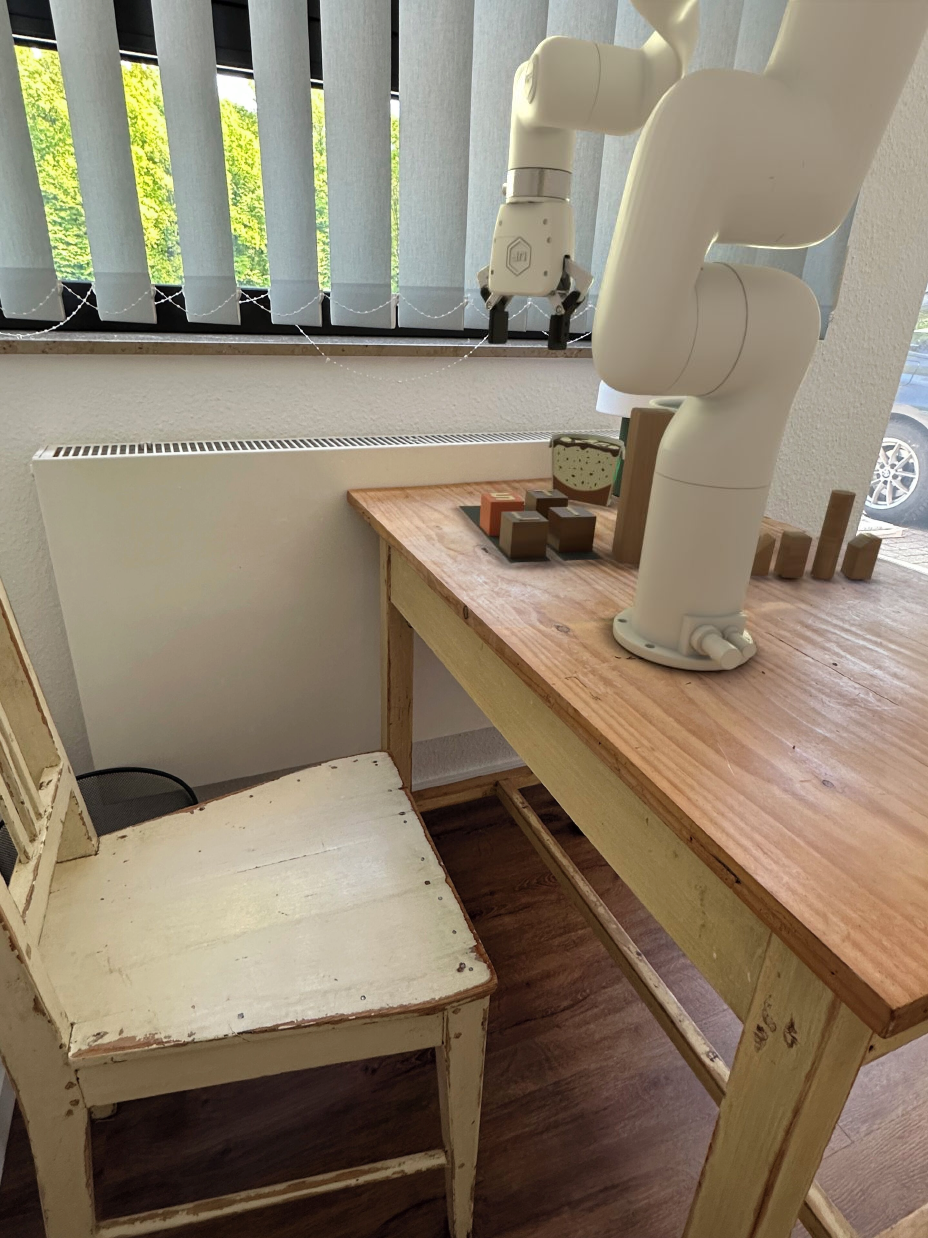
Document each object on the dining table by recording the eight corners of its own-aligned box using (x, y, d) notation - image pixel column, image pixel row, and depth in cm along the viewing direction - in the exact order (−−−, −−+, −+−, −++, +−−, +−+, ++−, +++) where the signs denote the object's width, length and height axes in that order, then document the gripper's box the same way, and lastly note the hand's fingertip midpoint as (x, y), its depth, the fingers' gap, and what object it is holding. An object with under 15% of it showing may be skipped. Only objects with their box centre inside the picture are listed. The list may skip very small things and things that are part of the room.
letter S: (521, 535, 94) (524, 500, 92) (488, 535, 93) (491, 501, 91) (511, 525, 98) (513, 491, 96) (479, 525, 96) (481, 492, 95)
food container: (630, 504, 114) (639, 440, 110) (615, 512, 109) (625, 445, 105) (559, 491, 119) (565, 429, 115) (543, 497, 115) (549, 434, 111)
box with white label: (545, 557, 86) (549, 520, 84) (509, 559, 85) (512, 521, 83) (533, 545, 90) (536, 509, 88) (498, 546, 89) (501, 510, 87)
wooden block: (682, 558, 90) (708, 410, 82) (692, 571, 86) (721, 416, 78) (610, 555, 90) (630, 406, 82) (617, 567, 86) (639, 412, 78)
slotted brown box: (592, 551, 89) (596, 515, 87) (558, 552, 88) (562, 516, 86) (578, 540, 93) (582, 505, 91) (545, 541, 92) (549, 506, 90)
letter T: (565, 530, 97) (569, 496, 95) (533, 531, 96) (536, 497, 94) (553, 520, 101) (556, 488, 99) (522, 521, 99) (525, 488, 98)
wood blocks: (858, 574, 88) (882, 490, 83) (870, 581, 85) (896, 496, 81) (660, 570, 85) (674, 484, 81) (667, 578, 83) (682, 489, 79)
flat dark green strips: (603, 563, 87) (604, 558, 86) (509, 567, 84) (510, 562, 83) (534, 508, 109) (534, 504, 108) (458, 509, 106) (458, 505, 105)
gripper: (463, 191, 87) (456, 341, 94) (581, 182, 77) (564, 353, 84) (502, 199, 92) (494, 341, 99) (618, 192, 82) (599, 352, 89)
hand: (526, 346), depth 91 cm, fingers open, 9 cm apart
